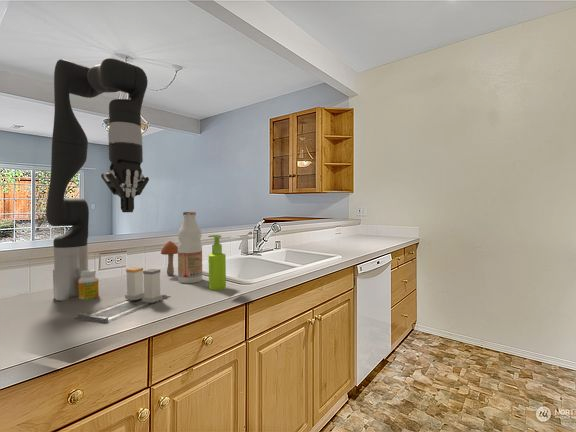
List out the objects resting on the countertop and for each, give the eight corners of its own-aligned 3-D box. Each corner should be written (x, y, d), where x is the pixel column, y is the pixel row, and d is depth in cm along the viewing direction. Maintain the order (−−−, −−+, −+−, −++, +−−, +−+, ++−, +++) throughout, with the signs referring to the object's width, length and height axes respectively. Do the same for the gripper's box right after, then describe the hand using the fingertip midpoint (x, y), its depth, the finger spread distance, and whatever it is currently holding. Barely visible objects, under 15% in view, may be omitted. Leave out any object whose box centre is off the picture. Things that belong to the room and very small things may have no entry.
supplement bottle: (84, 304, 95) (83, 273, 94) (75, 301, 97) (74, 271, 97) (102, 299, 100) (101, 270, 99) (93, 297, 102) (92, 268, 102)
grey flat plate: (73, 323, 80) (73, 314, 80) (144, 296, 102) (144, 290, 102) (104, 328, 76) (104, 319, 76) (171, 300, 99) (171, 293, 99)
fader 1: (125, 298, 95) (124, 269, 95) (135, 295, 99) (134, 267, 98) (135, 300, 94) (134, 270, 93) (145, 296, 97) (144, 267, 97)
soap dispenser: (217, 287, 114) (216, 233, 113) (229, 290, 109) (228, 235, 109) (203, 290, 109) (203, 235, 108) (215, 294, 105) (215, 236, 104)
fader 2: (142, 301, 92) (141, 271, 92) (152, 297, 96) (151, 268, 96) (152, 302, 91) (152, 272, 91) (162, 298, 95) (161, 269, 94)
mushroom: (173, 272, 140) (172, 239, 139) (184, 274, 135) (183, 240, 135) (157, 275, 133) (156, 241, 133) (167, 277, 129) (167, 242, 128)
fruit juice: (173, 283, 120) (172, 212, 119) (185, 277, 129) (184, 211, 128) (195, 284, 118) (194, 212, 117) (206, 278, 127) (205, 211, 126)
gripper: (135, 149, 84) (136, 211, 85) (90, 139, 72) (92, 213, 72) (157, 147, 82) (158, 211, 82) (114, 137, 69) (116, 213, 70)
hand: (127, 212), depth 77 cm, fingers closed
